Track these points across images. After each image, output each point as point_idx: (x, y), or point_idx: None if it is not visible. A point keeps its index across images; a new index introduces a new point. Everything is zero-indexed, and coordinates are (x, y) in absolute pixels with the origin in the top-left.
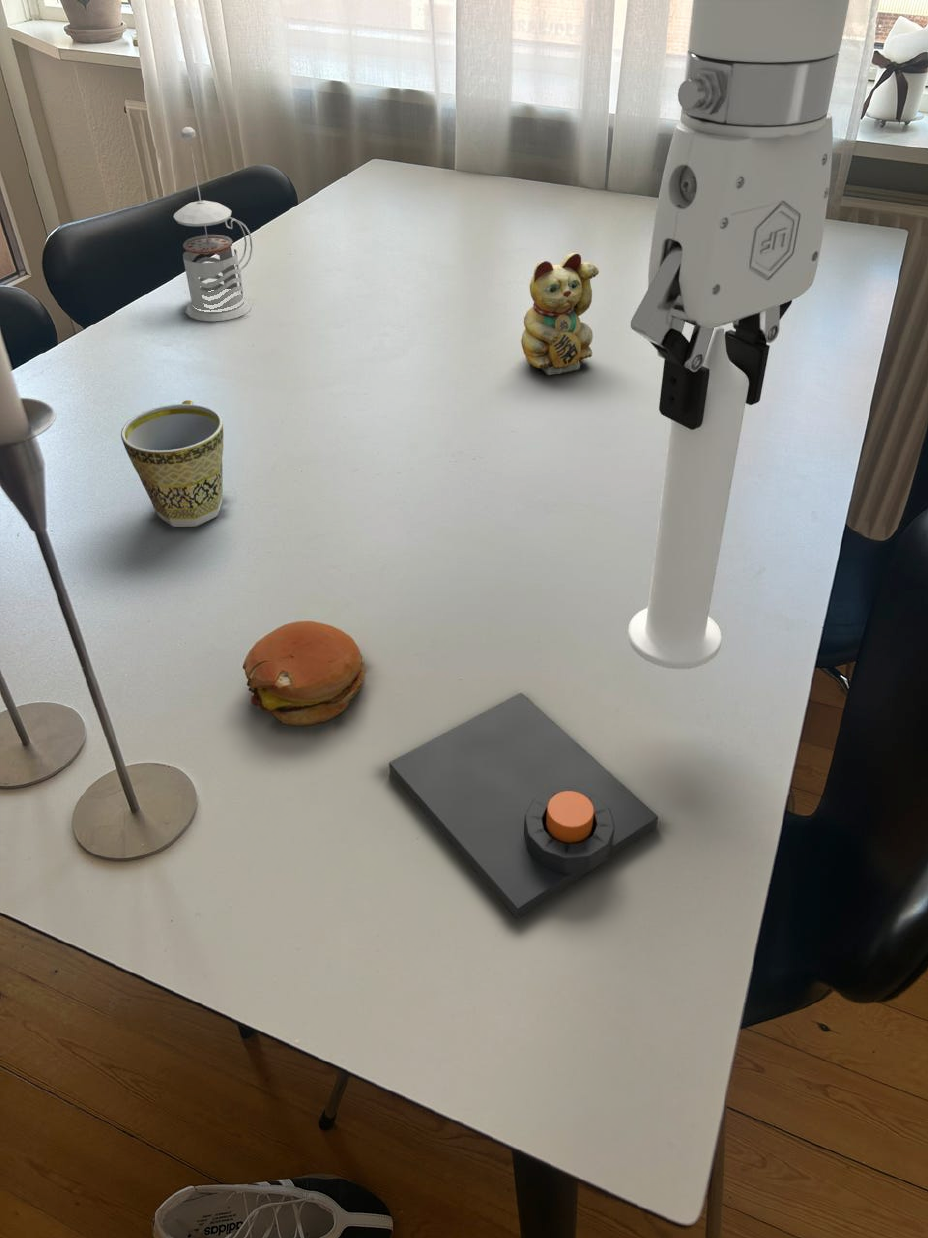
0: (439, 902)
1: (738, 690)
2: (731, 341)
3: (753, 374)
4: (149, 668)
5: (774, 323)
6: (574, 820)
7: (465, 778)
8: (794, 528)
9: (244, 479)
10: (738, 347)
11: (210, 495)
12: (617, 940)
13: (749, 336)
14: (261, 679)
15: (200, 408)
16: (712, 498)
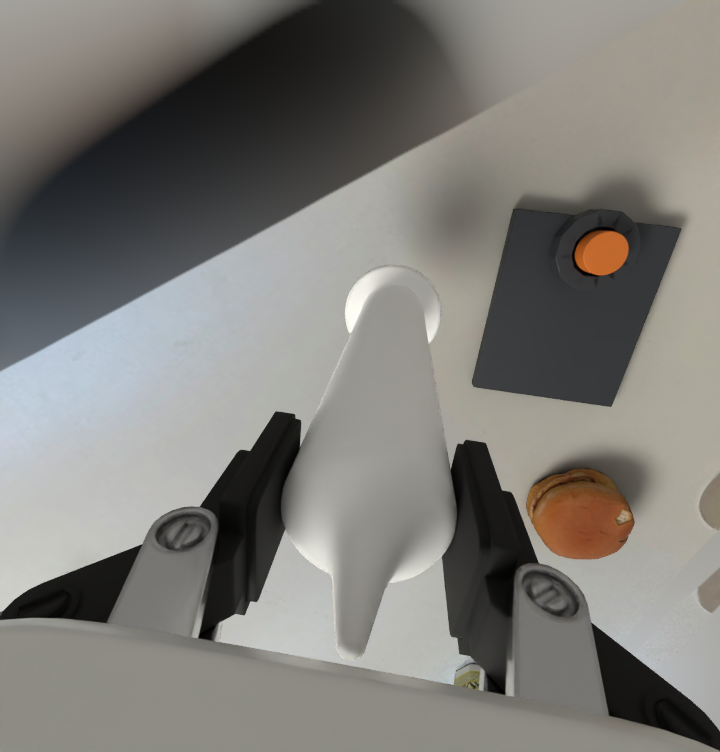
0: (694, 284)
1: (323, 261)
2: (258, 579)
3: (279, 463)
4: (630, 586)
5: (164, 557)
6: (616, 241)
7: (586, 354)
8: (107, 357)
9: (422, 678)
10: (262, 552)
11: (477, 686)
12: (641, 151)
13: (238, 564)
14: (632, 528)
15: None
16: (408, 348)
